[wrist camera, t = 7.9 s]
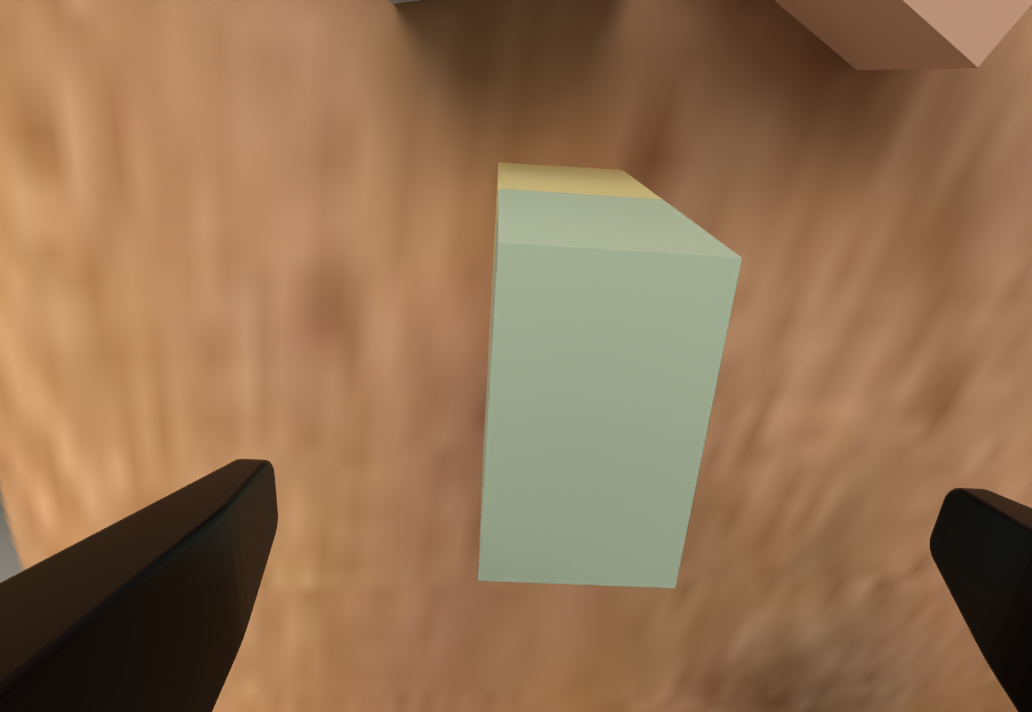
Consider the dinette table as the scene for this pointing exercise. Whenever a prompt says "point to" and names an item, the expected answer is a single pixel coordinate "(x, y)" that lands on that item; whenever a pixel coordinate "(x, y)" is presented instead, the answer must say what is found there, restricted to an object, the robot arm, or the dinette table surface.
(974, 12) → the terracotta brick
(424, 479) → the dinette table surface
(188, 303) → the dinette table surface
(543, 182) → the mustard brick
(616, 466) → the green brick
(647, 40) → the dinette table surface
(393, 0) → the slate brick
